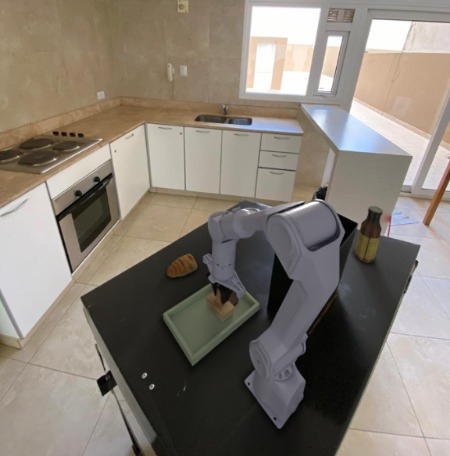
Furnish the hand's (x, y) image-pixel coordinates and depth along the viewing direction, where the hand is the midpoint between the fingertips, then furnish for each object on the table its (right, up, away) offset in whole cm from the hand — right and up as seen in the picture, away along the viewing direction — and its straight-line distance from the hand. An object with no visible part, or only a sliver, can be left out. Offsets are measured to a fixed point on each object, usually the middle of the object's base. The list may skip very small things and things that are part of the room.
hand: (221, 297), depth 67 cm
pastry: (-12, +1, +14) cm, 19 cm away
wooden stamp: (-1, -4, +1) cm, 4 cm away
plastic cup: (0, +5, +25) cm, 25 cm away
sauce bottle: (+50, +2, +22) cm, 55 cm away
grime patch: (+3, -3, +4) cm, 5 cm away
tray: (-2, -5, 0) cm, 5 cm away
